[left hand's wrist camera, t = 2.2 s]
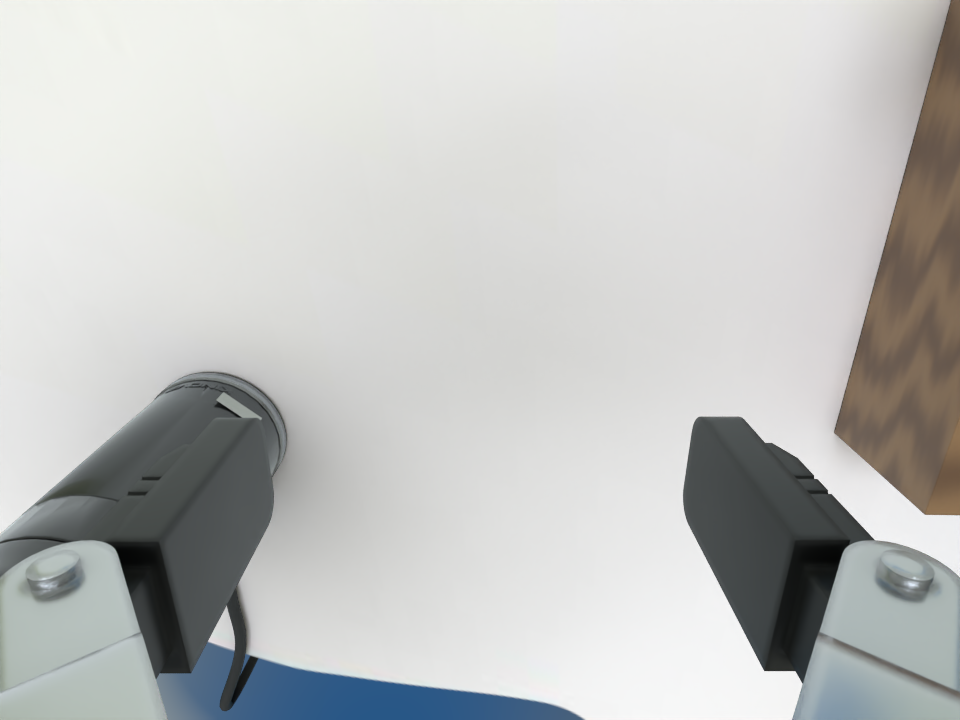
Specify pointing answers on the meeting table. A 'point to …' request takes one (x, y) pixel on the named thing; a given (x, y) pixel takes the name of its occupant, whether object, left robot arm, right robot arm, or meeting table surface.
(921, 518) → the meeting table surface
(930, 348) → the box
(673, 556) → the meeting table surface
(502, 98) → the meeting table surface
